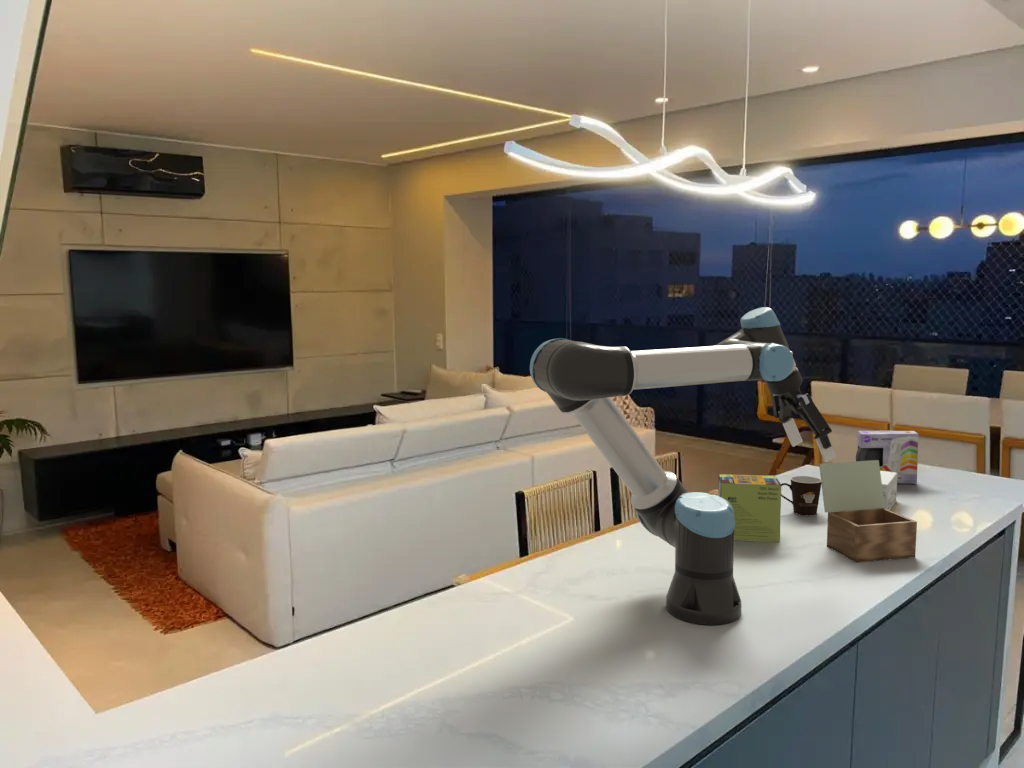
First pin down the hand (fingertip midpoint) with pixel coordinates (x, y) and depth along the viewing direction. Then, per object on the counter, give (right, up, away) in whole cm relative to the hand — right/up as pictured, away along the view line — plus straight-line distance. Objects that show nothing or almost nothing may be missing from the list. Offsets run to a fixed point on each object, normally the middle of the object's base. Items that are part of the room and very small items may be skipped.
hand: (813, 451), depth 174 cm
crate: (+19, -26, +13) cm, 35 cm away
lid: (+18, -11, +18) cm, 27 cm away
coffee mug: (+15, -22, +47) cm, 54 cm away
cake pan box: (+56, -18, +79) cm, 98 cm away
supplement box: (+38, -21, +53) cm, 69 cm away
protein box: (-7, -25, +27) cm, 38 cm away
